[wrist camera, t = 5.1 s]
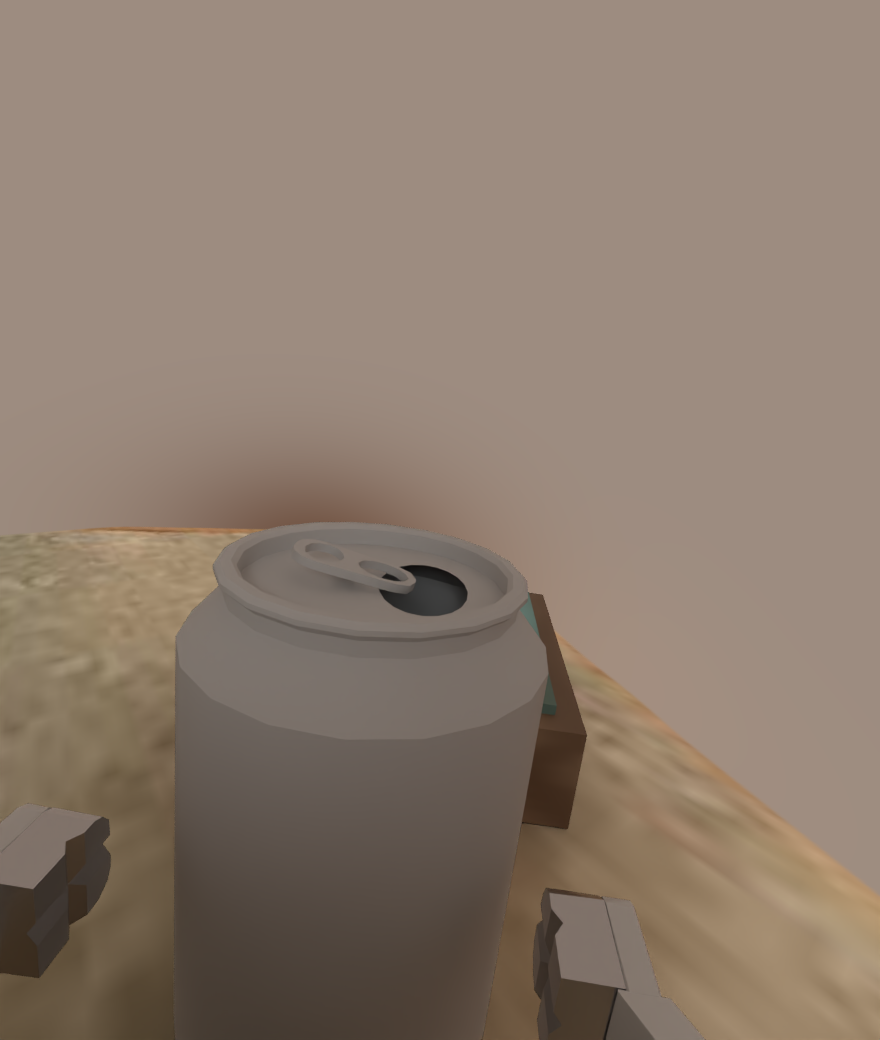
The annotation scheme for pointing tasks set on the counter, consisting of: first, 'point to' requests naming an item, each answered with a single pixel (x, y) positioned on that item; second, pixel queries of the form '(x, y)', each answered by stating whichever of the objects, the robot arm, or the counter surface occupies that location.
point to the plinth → (553, 733)
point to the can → (349, 784)
